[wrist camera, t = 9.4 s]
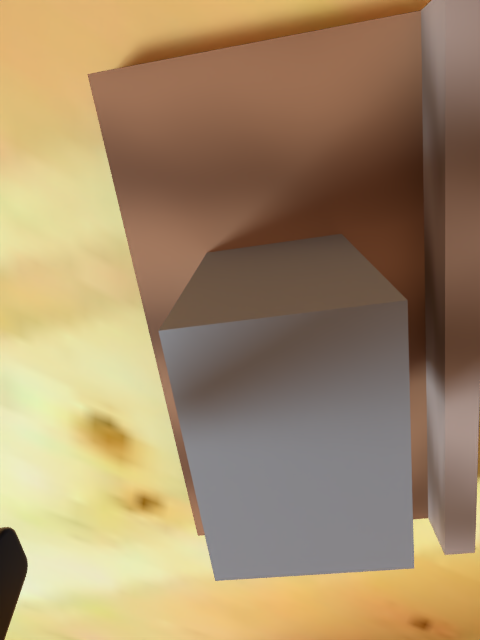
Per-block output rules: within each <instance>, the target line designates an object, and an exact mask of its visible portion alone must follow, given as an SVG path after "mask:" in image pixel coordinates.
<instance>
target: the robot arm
mask: <svg viewBox="0 0 480 640" xmlns="http://www.w3.org/2000/svg"><path fill="white" fill-rule="evenodd" d="M27 567H28V563H27V558H26V555H25V553H24V551H23V548H22V546H21V544H20V541H19V539H18V537H17V534H16V532H15V531H14V530H13V529H12V528H9V527H3V528H0V640H4V639H5V636H6V633H7V630H8V627H9V625H10V622H11V619H12V616H13V613H14V610H15V607H16V604H17V601H18V598H19V595H20V592H21V589H22V586H23V583H24V580H25V577H26V573H27Z"/></svg>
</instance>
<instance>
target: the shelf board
mask: <svg viewBox="0 0 480 640" xmlns="http://www.w3.org/2000/svg"><path fill="white" fill-rule="evenodd" d="M88 78H89V82H90V86H91V90H92V95H93V99H94V103H95V107H96V111H97V115H98V120H99V124H100V128H101V132H102V136H103V140H104V145H105V149H106V153H107V157H108V161H109V166H110V170H111V174H112V178H113V182H114V186H115V191H116V195H117V199H118V203H119V207H120V212H121V216H122V220H123V224H124V228H125V232H126V237H127V241H128V245H129V249H130V253H131V257H132V262H133V266H134V270H135V274H136V278H137V283H138V287H139V291H140V295H141V299H142V303H143V308H144V312H145V316H146V320H147V324H148V329H149V333H150V337H151V341H152V345H153V349H154V354H155V358H156V362H157V366H158V370H159V375H160V379H161V383H162V387H163V391H164V395H165V400H166V404H167V408H168V412H169V416H170V420H171V425H172V429H173V433H174V437H175V441H176V446H177V450H178V454H179V458H180V462H181V466H182V471H183V475H184V479H185V483H186V487H187V492H188V496H189V500H190V504H191V508H192V512H193V517H194V521H195V525H196V529H197V533H198V536H199V535H205V533H204V529H203V524H202V520H201V516H200V511H199V507H198V502H197V498H196V494H195V489H194V485H193V480H192V476H191V472H190V467H189V463H188V459H187V454H186V450H185V445H184V441H183V437H182V432H181V428H180V423H179V419H178V415H177V410H176V406H175V401H174V397H173V393H172V388H171V384H170V380H169V375H168V371H167V366H166V362H165V358H164V353H163V349H162V344H161V340H160V336H159V329H160V327H161V326H162V324H163V323H164V321H165V319H166V318H167V316H168V315H169V313H170V311H171V310H172V308H173V306H174V305H175V303H176V302H177V300H178V298H179V297H180V295H181V294H182V292H183V290H184V289H185V287H186V285H187V284H188V282H189V281H190V279H191V277H192V276H193V274H194V273H195V271H196V269H197V268H198V266H199V265H200V263H201V261H202V260H203V258H204V256H205V255H206V253H208V252H215V251H222V250H229V249H236V248H244V247H251V246H258V245H265V244H272V243H279V242H286V241H294V240H301V239H308V238H315V237H322V236H329V235H336V234H342V235H343V236H344V237H345V238H346V239H347V240H348V241H349V242H350V243H351V244H352V245H353V246H354V247H355V248H356V249H357V250H358V251H359V252H360V253H361V254H362V255H363V256H364V257H365V258H366V259H367V260H368V261H369V262H370V263H371V264H372V265H373V266H374V267H375V268H376V269H377V270H378V271H379V272H380V273H381V274H382V275H383V276H384V277H385V278H386V279H387V280H388V281H389V282H390V283H391V284H392V285H393V286H394V287H395V288H396V289H397V290H398V291H399V292H400V293H401V294H402V295H403V296H404V297H405V298H406V299H407V300H408V341H409V382H410V423H411V463H412V504H413V519H422V518H428V519H429V521H430V523H431V525H432V527H433V530H434V532H435V534H436V536H437V538H438V541H439V543H440V545H441V547H442V550H443V552H444V554H445V555H448V554H462V553H475V532H476V500H477V468H478V436H479V405H480V0H431V1H430V2H429V3H428V4H427V5H426V6H425V7H424V8H423V9H422V10H421V11H416V12H410V13H405V14H400V15H395V16H389V17H384V18H379V19H374V20H369V21H363V22H358V23H353V24H348V25H342V26H337V27H332V28H327V29H322V30H316V31H311V32H306V33H301V34H295V35H290V36H285V37H280V38H275V39H269V40H264V41H259V42H254V43H248V44H243V45H238V46H233V47H228V48H222V49H217V50H212V51H207V52H201V53H196V54H191V55H186V56H181V57H175V58H170V59H165V60H160V61H154V62H149V63H144V64H139V65H134V66H128V67H123V68H118V69H113V70H107V71H102V72H97V73H92V74H88Z"/></svg>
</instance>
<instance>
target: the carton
mask: <svg viewBox="0 0 480 640" xmlns="http://www.w3.org/2000/svg"><path fill="white" fill-rule="evenodd" d="M159 336H160V340H161V344H162V349H163V353H164V358H165V362H166V366H167V371H168V375H169V380H170V384H171V388H172V393H173V397H174V401H175V406H176V410H177V415H178V419H179V423H180V428H181V432H182V437H183V441H184V445H185V450H186V454H187V459H188V463H189V467H190V472H191V476H192V480H193V485H194V489H195V494H196V498H197V502H198V507H199V511H200V516H201V520H202V524H203V529H204V533H205V537H206V542H207V546H208V551H209V555H210V559H211V564H212V568H213V573H214V577H215V581H219V580H235V579H251V578H267V577H283V576H299V575H315V574H331V573H347V572H363V571H379V570H395V569H411V568H414V545H413V504H412V463H411V423H410V382H409V341H408V300H407V299H406V298H405V297H404V296H403V295H402V294H401V293H400V292H399V291H398V290H397V289H396V288H395V287H394V286H393V285H392V284H391V283H390V282H389V281H388V280H387V279H386V278H385V277H384V276H383V275H382V274H381V273H380V272H379V271H378V270H377V269H376V268H375V267H374V266H373V265H372V264H371V263H370V262H369V261H368V260H367V259H366V258H365V257H364V256H363V255H362V254H361V253H360V252H359V251H358V250H357V249H356V248H355V247H354V246H353V245H352V244H351V243H350V242H349V241H348V240H347V239H346V238H345V237H344V236H343V235H342V234H336V235H329V236H322V237H315V238H308V239H301V240H294V241H286V242H279V243H272V244H265V245H258V246H251V247H244V248H236V249H229V250H222V251H215V252H208V253H206V255H205V256H204V258H203V260H202V261H201V263H200V265H199V266H198V268H197V269H196V271H195V273H194V274H193V276H192V277H191V279H190V281H189V282H188V284H187V285H186V287H185V289H184V290H183V292H182V294H181V295H180V297H179V298H178V300H177V302H176V303H175V305H174V306H173V308H172V310H171V311H170V313H169V315H168V316H167V318H166V319H165V321H164V323H163V324H162V326H161V327H160V329H159Z"/></svg>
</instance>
